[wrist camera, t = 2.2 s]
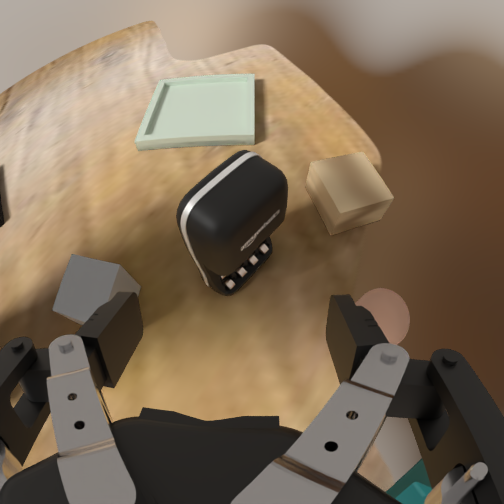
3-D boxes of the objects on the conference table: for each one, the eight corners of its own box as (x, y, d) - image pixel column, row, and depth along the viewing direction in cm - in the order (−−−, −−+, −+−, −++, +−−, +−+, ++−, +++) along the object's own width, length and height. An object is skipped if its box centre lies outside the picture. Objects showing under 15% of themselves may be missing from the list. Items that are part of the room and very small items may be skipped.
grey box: (81, 325, 24) (52, 310, 20) (97, 276, 26) (71, 253, 22) (126, 339, 24) (100, 327, 19) (141, 287, 26) (120, 264, 21)
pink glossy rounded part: (337, 359, 23) (357, 351, 18) (334, 308, 25) (351, 289, 20) (385, 354, 23) (413, 345, 18) (380, 305, 25) (405, 286, 20)
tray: (138, 150, 33) (134, 141, 32) (161, 88, 39) (159, 80, 38) (254, 144, 33) (254, 134, 32) (254, 82, 39) (254, 73, 38)
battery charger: (231, 310, 25) (215, 248, 14) (199, 281, 26) (165, 206, 16) (284, 252, 27) (301, 165, 17) (252, 228, 28) (251, 136, 18)
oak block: (330, 236, 28) (340, 213, 24) (304, 188, 30) (310, 162, 27) (380, 220, 29) (394, 197, 25) (353, 176, 31) (362, 151, 28)
